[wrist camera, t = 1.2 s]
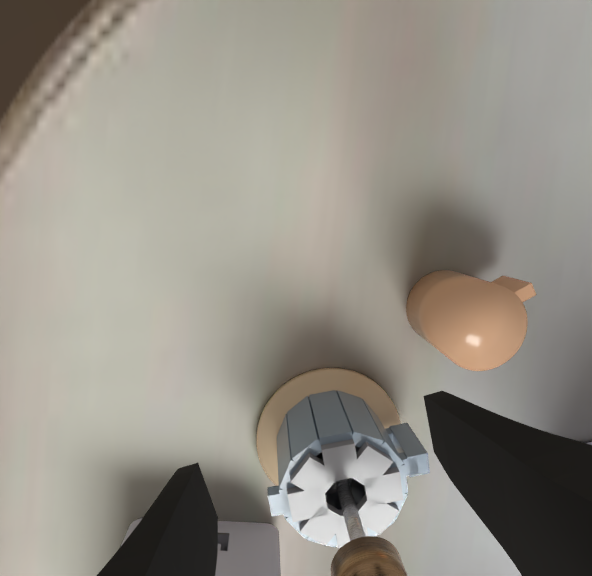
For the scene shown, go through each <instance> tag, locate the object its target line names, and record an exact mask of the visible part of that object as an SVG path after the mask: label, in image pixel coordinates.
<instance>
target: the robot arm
mask: <svg viewBox="0 0 592 576" xmlns="http://www.w3.org/2000/svg"><path fill="white" fill-rule="evenodd" d="M424 400H425V406H426V411H427V417H428V422H429V427H430V433H431V438H432V443H433V449H434V453H435V454H436V456H437V458H438V459H439V461H440V463H441V465H442V466H443V468H444V470H445V471H446V473H447V475H448V476H449V478H450V479H451V481H452V482H453V484H454V485H455V486H456V488H457V489H458V490H459V492H460V493H461V494H462V496H463V497H464V498H465V500H466V501H467V502H468V503H469V505H470V506H471V507H472V509H473V510H474V511H475V512H476V514H477V515H478V516H479V518H480V519H481V520H482V521H483V523H484V524H485V525H486V527H487V528H488V529H489V531H490V532H491V533H492V534H493V536H494V537H495V538H496V540H497V541H498V542H499V543H500V545H501V546H502V547H503V549H504V550H505V551H506V553H507V554H508V556H509V557H510V558H511V560H512V561H513V563H514V564H515V565H516V567H517V569H518V570H519V572H520V573H521V575H522V576H592V442H589V443H582V442H579V441H575V440H572V439H568V438H565V437H561V436H557V435H554V434H551V433H548V432H544V431H541V430H538V429H535V428H533V427H530V426H527V425H524V424H521V423H519V422H516V421H513V420H511V419H508V418H505V417H503V416H501V415H498V414H496V413H493V412H491V411H488V410H486V409H484V408H481V407H479V406H477V405H474V404H472V403H470V402H468V401H465V400H463V399H461V398H458V397H456V396H454V395H452V394H449V393H447V392H444V391H440V392H436V393H433V394H430V395H426V396H424ZM217 555H218V517H217V514H216V512H215V509H214V506H213V503H212V500H211V498H210V495H209V492H208V489H207V487H206V484H205V481H204V478H203V475H202V473H201V470H200V467H199V464H198V463H196V464H192V465H189V466H185V467H182V468H179V469H178V470H177V471H176V472H175V473H174V475H173V476H172V478H171V479H170V480H169V482H168V483H167V485H166V486H165V487H164V489H163V490H162V492H161V493H160V495H159V496H158V497H157V499H156V500H155V502H154V503H153V505H152V506H151V507H150V509H149V510H148V511H147V513H146V514H145V516H144V517H143V518H142V520H141V521H140V523H139V524H138V525H137V527H136V528H135V529H134V530H133V532H132V533H131V534H130V536H129V537H128V538H127V539H126V541H125V542H124V543H123V544H122V546H121V547H120V548H119V550H118V551H117V552H116V553H115V555H114V556H113V557H112V558H111V560H110V561H109V562H108V563H107V564H106V566H105V567H104V568H103V569H102V570H101V571H100V572H99V574H98V575H97V576H215V573H216V564H217Z"/></svg>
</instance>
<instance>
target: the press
mask: <svg viewBox="0 0 592 576" xmlns="http://www.w3.org/2000/svg"><path fill="white" fill-rule="evenodd" d="M355 446H357V447H360V449H359V450H358V452H357V453H356V449H355ZM257 452H258V456H259V460H260V463H261V465H262V467H263V470H264V471H265V473H266V474H267V476H268V477H269V479H270V480H271V481H272V482H273V483H274V484H275V485H276V486H273V487H268V500H269V505H270V510H271V515H272V517H273V516H278V515H283V514H284V518H285V520H286V521H287V522H288V523H289V524H290V525H291V526H293V527H294V528H295V529H296V530H297V531H298V532H299V533H300V534H301V535H302V536H303V537H304V538H305V539H306V538H307V540H308V541H312V542H316V543H320V544H323V545H324V546H326V545H327V546H331V547H335V548H336V546H338V548H340V547H342V546H343V545H345V544H346V543H348V542H349V541H350V539H349V535H348V531H347V527H346V523H345V519H344V515H343V511H342V510H338V509H337V508H335V507H333V506H331V505H330V504H328V503H326V497H325V493H326V492H327V491H328V490H329V488H330V487H331V486H332V484H333V483H334V482H335V481H339V480H344V479H349V478H353V479H354V480H356V481H358V482H359V483H361V484H363V485H364V491H365V495H364V497H363V498H362V499H361V500H360V502H359V503H358V504H357V505H356V506H357V510H358V513H359V516H360V519H361V523H362V526H363V529H364V532H365V535H366V536H374V537H375V536H377V535H378V534H380V535H381V533H382V532H383V531H384V530H385V529H386V528H387V527H389V526H390V525H391V524H393V523H394V520H395V521H396V519H397V517H398V514H399V512H400V510H401V508H402V506H403V504H404V502H405V500H406V497H407V495H408V494H407V493H408V487H407V479H406V476H409V477H413V476H418V475H423V474H428V473H430V470H429V461H428V453H427V451H426V450H425V448H424V447H423V445H422V444H421V443H420V441H419V440H418V438H417V437H416V435H415V434H414V432H413V431H412V429H411V428H410V426H409V425H408V423H403V424H400V418H399V415H398V412H397V409H396V408H395V406H394V404H393V402H392V400H391V399H390V397H389V396H388V395H387V393H386V392H385V391H384V390H383V389H382V388H381V387H380V385H378V384H377V383H376V382H375V381H373V380H372V379H370V378H369V377H367V376H365V375H363V374H361V373H358V372H356V371H352V370H348V369H342V368H322V369H316V370H312V371H308V372H306V373H303V374H300V375H298V376H296V377H294V378H293V379H291V380H289V381H288V382H287V383H285V384H284V385H282V386H281V387H280V388H279V389H278V390H277V391H276V392H275V393H274V394H273V395H272V397H271V398H270V399H269V401H268V402H267V404H266V405H265V407H264V409H263V411H262V413H261V416H260V419H259V423H258V428H257ZM321 452H322V456H323V460H321V459H320V458H318V457H316V456H317V455H318V454H320V453H321Z"/></svg>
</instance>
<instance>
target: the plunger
mask: <svg viewBox="0 0 592 576" xmlns="http://www.w3.org/2000/svg"><path fill="white" fill-rule="evenodd" d="M355 449H356V453H357V452H358V450H359V449H360V447H357V446H355ZM316 457H318V458H320V459H321V460H323V456H322V452H321V453H320V454H318V455H317V456H316ZM364 495H365V491H364V485H363V484H361V483H359V482H358V481H356V480H354V479H353V478H349V479H344V480H339V481H335V482H334V483H333V484H332V486H331V487H330V488H329V490H328V491H327V492H326V493H325V497H326V503H328V504H330V505H331V506H333V507H335V508H337V509H338V510H342V511H343V515H344V519H345V523H346V527H347V531H348V535H349V539H350V541H349V542H348V543H346V544H345V545H343V546H342V547H341V548H340V549H339V550H338V551H337V553H336V554H335V556H334V558H333V560H332V564H331V576H407V573H406V571H405V568H404V566H403V563H402V561H401V558H400V555H399V553H398V551H397V549H396V548H395V547H394V545H392V544H391V543H390V542H389V541H387V540H385V539H383V538H380V537H374V536H366V535H365V532H364V529H363V526H362V523H361V519H360V516H359V513H358V510H357V506H356V505H357V504H358V503H359V502H360V500H361V499H362V498H363V497H364Z"/></svg>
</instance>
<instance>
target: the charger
mask: <svg viewBox="0 0 592 576" xmlns="http://www.w3.org/2000/svg"><path fill="white" fill-rule="evenodd" d="M141 520H142V518H140V519H137V520H135V521H133V522H132V523H131V524H130V526H129V528H128V530H127V533H126V535H125V537H124V539H123V542H122V544H123V543H124V542H125V541H126V539H127V538H128V537H129V536H130V534H131V533H132V532H133V530H134V529H135V528H136V527H137V525H138V524H139V523H140V521H141ZM218 533H229V534H218V555H217V564H216V573H215V576H281V573H280V548H279V531H278V529H277V528H276V527H275V526H274V525H272V524H269V523H254V522H233V521H218ZM122 544H121V546H122ZM121 546H120V547H121Z"/></svg>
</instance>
